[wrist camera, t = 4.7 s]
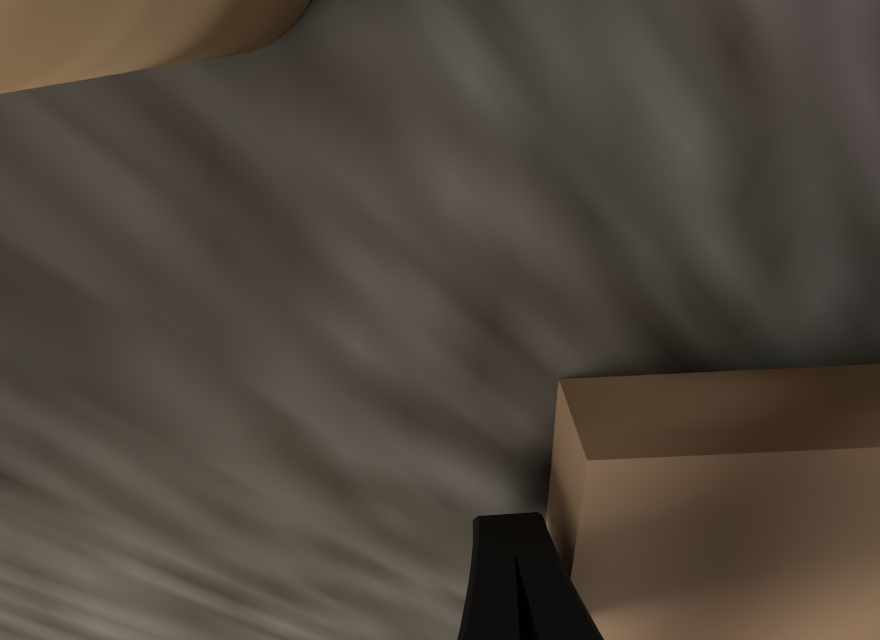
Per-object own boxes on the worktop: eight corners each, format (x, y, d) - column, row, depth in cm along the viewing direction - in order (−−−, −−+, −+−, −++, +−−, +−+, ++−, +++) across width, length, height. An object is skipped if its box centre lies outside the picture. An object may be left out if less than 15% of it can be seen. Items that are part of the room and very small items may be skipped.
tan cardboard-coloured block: (907, 349, 10) (1039, 440, 8) (797, 564, 14) (865, 666, 11) (554, 366, 10) (587, 460, 8) (537, 575, 14) (556, 678, 12)
